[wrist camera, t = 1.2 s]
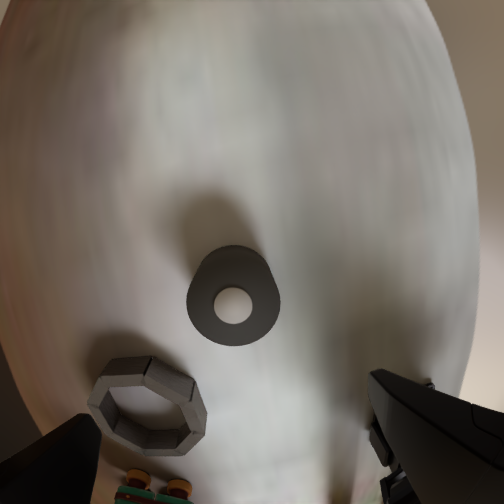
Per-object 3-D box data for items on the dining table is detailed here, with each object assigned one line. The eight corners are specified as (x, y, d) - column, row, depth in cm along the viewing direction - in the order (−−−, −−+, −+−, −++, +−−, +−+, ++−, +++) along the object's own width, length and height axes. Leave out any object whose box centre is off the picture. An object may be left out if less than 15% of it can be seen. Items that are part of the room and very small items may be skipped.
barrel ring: (185, 351, 20) (180, 370, 18) (215, 434, 22) (214, 454, 20) (85, 360, 20) (72, 376, 18) (125, 436, 22) (118, 454, 20)
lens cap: (265, 238, 19) (272, 251, 15) (277, 310, 20) (287, 338, 16) (188, 253, 19) (175, 269, 15) (205, 322, 20) (198, 353, 16)
